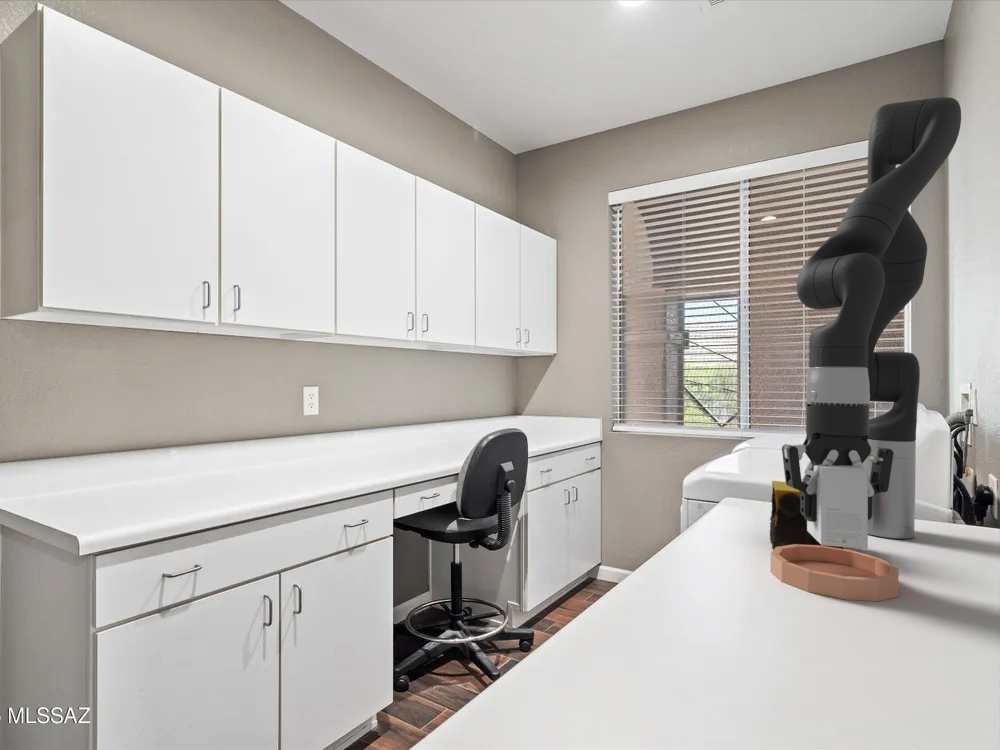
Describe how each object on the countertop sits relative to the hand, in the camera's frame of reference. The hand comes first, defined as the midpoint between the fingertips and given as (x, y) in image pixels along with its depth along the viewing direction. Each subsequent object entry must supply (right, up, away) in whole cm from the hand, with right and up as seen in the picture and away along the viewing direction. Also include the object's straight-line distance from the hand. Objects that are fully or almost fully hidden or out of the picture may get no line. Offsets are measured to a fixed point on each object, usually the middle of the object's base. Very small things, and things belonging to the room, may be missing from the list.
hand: (835, 521), depth 78 cm
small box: (0, -3, 0) cm, 3 cm away
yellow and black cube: (+4, -9, +16) cm, 18 cm away
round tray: (0, -8, 0) cm, 8 cm away
